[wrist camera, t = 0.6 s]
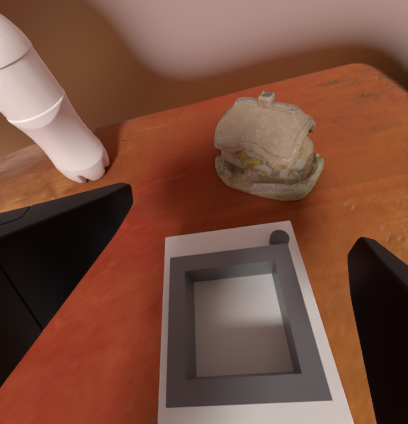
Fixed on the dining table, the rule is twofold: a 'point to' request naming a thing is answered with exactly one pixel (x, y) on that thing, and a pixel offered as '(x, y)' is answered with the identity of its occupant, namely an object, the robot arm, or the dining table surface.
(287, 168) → the ceramic model
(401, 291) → the robot arm
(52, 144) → the water bottle
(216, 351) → the tray on white base
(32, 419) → the dining table surface
